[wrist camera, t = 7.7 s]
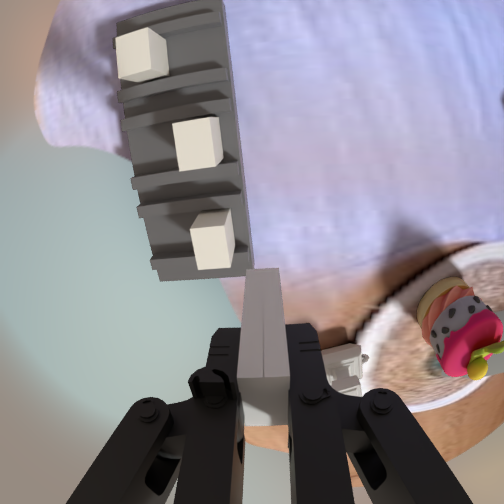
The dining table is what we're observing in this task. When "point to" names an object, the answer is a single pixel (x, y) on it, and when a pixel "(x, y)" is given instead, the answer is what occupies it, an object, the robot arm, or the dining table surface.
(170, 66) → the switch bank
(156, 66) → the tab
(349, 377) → the grey angular blocky piece
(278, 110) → the dining table surface
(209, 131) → the tab middle
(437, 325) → the cake
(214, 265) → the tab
